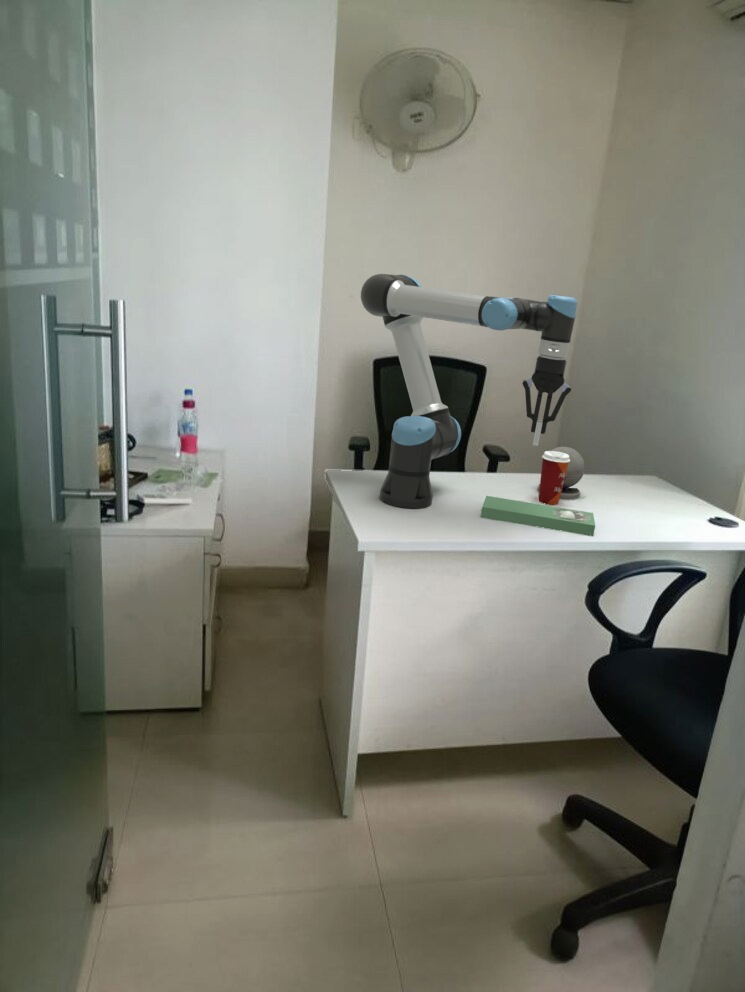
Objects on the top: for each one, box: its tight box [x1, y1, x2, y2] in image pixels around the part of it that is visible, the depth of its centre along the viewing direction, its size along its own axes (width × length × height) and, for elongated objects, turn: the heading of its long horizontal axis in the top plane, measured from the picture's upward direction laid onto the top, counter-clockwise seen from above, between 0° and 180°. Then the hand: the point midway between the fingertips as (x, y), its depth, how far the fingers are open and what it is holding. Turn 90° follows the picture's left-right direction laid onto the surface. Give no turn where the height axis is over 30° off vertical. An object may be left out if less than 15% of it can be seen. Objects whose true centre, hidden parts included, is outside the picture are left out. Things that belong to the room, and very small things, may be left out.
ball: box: [561, 511, 575, 519], centre depth 194 cm, size 4×4×4 cm
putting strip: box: [480, 495, 596, 537], centre depth 196 cm, size 30×11×3 cm, turn 76°
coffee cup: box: [537, 450, 570, 506], centre depth 212 cm, size 8×8×15 cm
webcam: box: [537, 446, 586, 501], centre depth 221 cm, size 13×13×15 cm
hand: (535, 444), depth 192 cm, fingers closed
